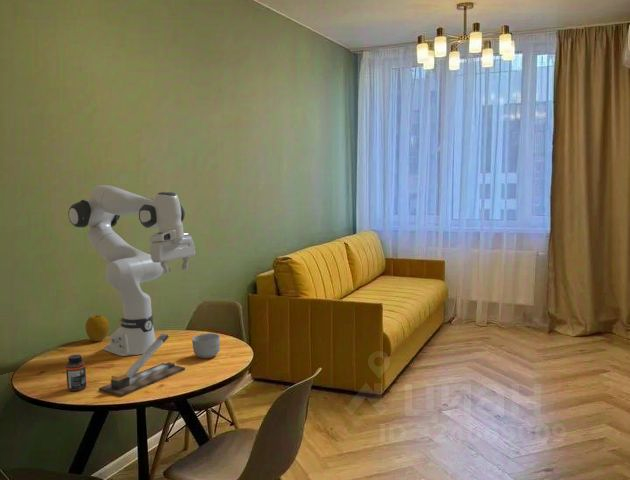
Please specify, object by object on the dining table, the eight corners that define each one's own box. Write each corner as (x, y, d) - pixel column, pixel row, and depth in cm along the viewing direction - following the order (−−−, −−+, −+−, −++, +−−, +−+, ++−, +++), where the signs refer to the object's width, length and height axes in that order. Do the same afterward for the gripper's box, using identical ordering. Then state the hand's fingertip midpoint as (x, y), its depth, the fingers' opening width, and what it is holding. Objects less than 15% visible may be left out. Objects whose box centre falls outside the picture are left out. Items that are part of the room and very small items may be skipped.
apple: (113, 337, 248) (112, 312, 247) (103, 343, 238) (101, 317, 237) (93, 337, 249) (91, 311, 248) (81, 343, 239) (80, 317, 238)
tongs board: (121, 396, 177) (121, 385, 177) (99, 391, 183) (98, 379, 182) (184, 369, 202) (184, 359, 202) (163, 365, 208) (162, 355, 207)
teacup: (214, 361, 212) (213, 340, 211) (188, 359, 214) (187, 339, 214) (227, 350, 226) (226, 331, 225) (202, 349, 228) (201, 330, 227)
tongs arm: (130, 379, 185) (128, 376, 185) (124, 377, 187) (122, 375, 186) (168, 337, 200) (167, 334, 200) (163, 336, 202) (161, 333, 201)
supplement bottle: (71, 385, 188) (69, 353, 187) (89, 385, 188) (87, 353, 187) (64, 392, 182) (62, 359, 181) (83, 391, 183) (81, 358, 181)
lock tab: (117, 381, 181) (117, 376, 181) (111, 379, 182) (111, 375, 182) (127, 377, 184) (126, 373, 184) (121, 376, 186) (121, 371, 185)
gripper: (184, 233, 217) (188, 267, 218) (145, 238, 199) (150, 275, 200) (196, 231, 214) (201, 267, 214) (158, 236, 196) (163, 275, 197)
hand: (176, 271), depth 207 cm, fingers open, 8 cm apart
